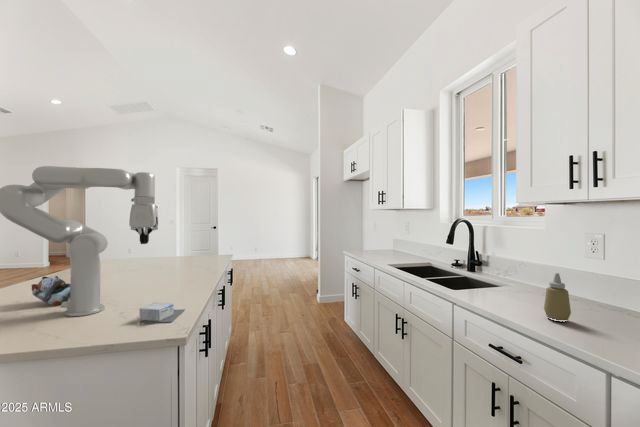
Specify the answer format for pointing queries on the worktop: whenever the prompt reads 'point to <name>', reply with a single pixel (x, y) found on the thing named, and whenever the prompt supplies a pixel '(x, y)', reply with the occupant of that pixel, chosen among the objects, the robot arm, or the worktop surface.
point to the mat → (168, 319)
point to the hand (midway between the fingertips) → (144, 243)
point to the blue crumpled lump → (52, 290)
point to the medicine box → (156, 311)
